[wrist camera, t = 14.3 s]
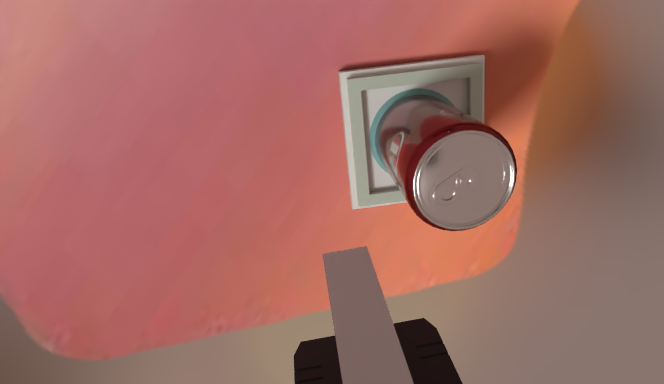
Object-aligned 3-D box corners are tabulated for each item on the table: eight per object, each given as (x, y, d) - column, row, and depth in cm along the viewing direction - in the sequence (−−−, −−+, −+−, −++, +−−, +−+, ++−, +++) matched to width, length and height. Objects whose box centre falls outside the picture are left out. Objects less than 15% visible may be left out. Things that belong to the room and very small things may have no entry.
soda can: (435, 76, 40) (494, 101, 29) (470, 149, 42) (537, 199, 31) (358, 121, 40) (386, 163, 29) (397, 190, 43) (437, 254, 32)
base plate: (338, 71, 40) (340, 73, 38) (480, 54, 41) (488, 56, 39) (351, 205, 44) (353, 212, 43) (479, 188, 45) (487, 194, 43)
